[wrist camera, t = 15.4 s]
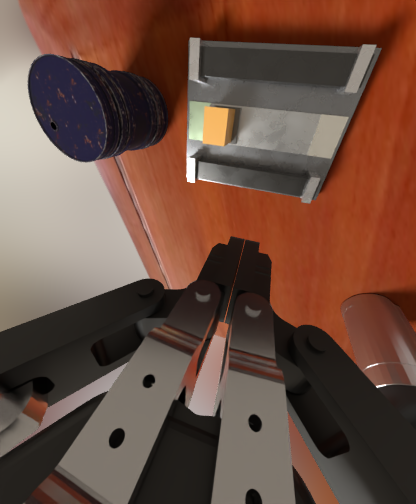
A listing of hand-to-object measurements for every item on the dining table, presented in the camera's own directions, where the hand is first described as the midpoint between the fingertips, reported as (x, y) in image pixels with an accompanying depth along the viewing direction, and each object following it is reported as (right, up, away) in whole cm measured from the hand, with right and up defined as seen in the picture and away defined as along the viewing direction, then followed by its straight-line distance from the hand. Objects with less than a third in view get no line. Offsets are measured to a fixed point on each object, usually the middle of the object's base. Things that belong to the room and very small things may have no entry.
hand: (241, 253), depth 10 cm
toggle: (+1, +19, +18) cm, 26 cm away
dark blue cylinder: (-13, +24, +23) cm, 35 cm away
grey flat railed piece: (+6, +19, +19) cm, 27 cm away
